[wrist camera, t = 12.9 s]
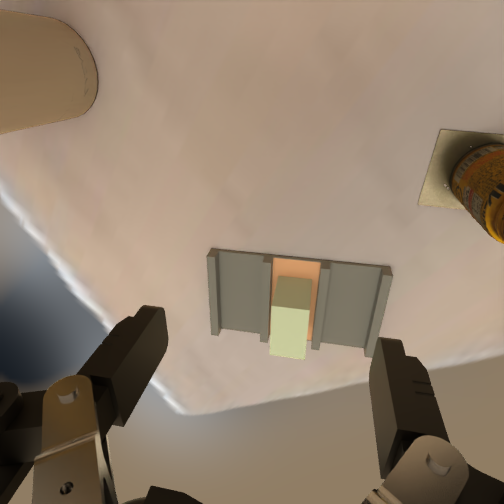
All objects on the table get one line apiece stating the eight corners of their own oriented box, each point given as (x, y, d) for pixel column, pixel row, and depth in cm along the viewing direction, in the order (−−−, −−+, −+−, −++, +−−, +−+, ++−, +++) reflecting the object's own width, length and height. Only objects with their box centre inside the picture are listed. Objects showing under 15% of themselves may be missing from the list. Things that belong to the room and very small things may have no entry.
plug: (276, 321, 45) (269, 354, 40) (278, 275, 42) (271, 305, 37) (307, 325, 45) (304, 359, 40) (312, 279, 41) (309, 310, 36)
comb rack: (215, 325, 48) (211, 334, 47) (211, 248, 43) (206, 256, 41) (371, 346, 45) (373, 357, 43) (390, 266, 39) (392, 276, 38)
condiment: (507, 213, 34) (584, 280, 24) (417, 203, 36) (453, 262, 25) (541, 137, 31) (649, 176, 20) (439, 128, 32) (493, 161, 22)
